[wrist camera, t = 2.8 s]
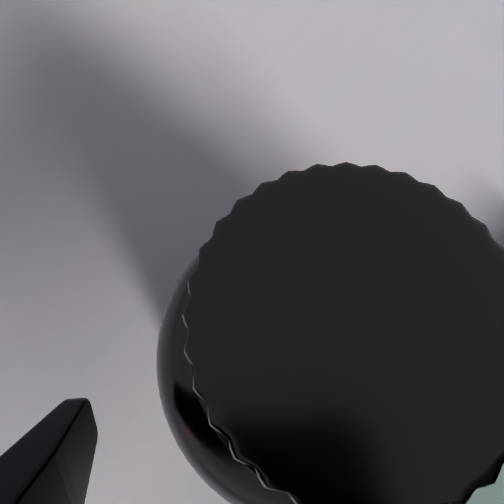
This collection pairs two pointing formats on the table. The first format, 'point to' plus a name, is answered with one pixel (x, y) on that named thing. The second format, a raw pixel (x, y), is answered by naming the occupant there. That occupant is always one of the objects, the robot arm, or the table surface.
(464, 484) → the supplement bottle
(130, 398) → the table surface
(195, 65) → the table surface
